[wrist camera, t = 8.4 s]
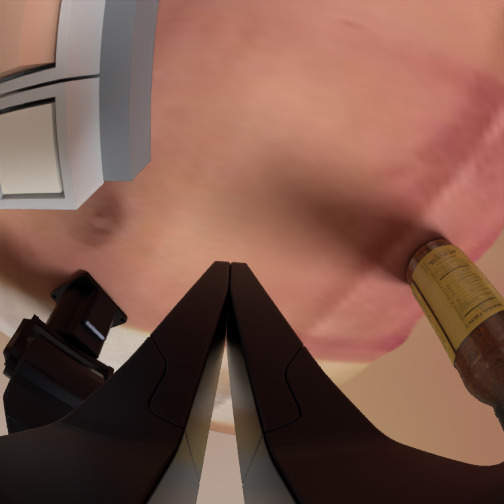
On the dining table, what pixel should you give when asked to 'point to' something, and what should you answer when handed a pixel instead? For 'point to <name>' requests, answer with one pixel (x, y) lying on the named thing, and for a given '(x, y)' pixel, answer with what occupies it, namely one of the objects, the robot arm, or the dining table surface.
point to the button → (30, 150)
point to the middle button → (27, 34)
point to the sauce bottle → (463, 317)
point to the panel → (92, 97)
